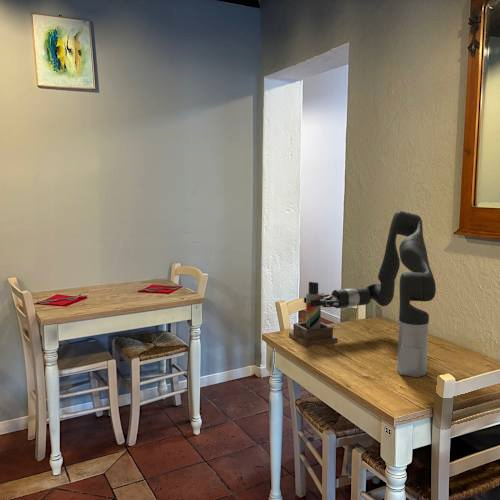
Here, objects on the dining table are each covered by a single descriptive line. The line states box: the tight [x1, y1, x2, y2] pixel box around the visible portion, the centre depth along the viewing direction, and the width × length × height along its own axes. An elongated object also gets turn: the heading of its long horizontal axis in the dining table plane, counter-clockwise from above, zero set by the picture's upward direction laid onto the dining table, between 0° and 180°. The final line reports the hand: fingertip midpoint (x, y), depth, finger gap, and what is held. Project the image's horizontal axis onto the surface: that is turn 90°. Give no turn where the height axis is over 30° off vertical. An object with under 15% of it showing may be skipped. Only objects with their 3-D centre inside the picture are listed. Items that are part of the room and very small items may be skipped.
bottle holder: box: [288, 321, 338, 348], centre depth 194 cm, size 14×14×6 cm
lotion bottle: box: [305, 281, 322, 330], centre depth 193 cm, size 6×6×20 cm
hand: (307, 302), depth 192 cm, fingers closed on lotion bottle, 5 cm apart
